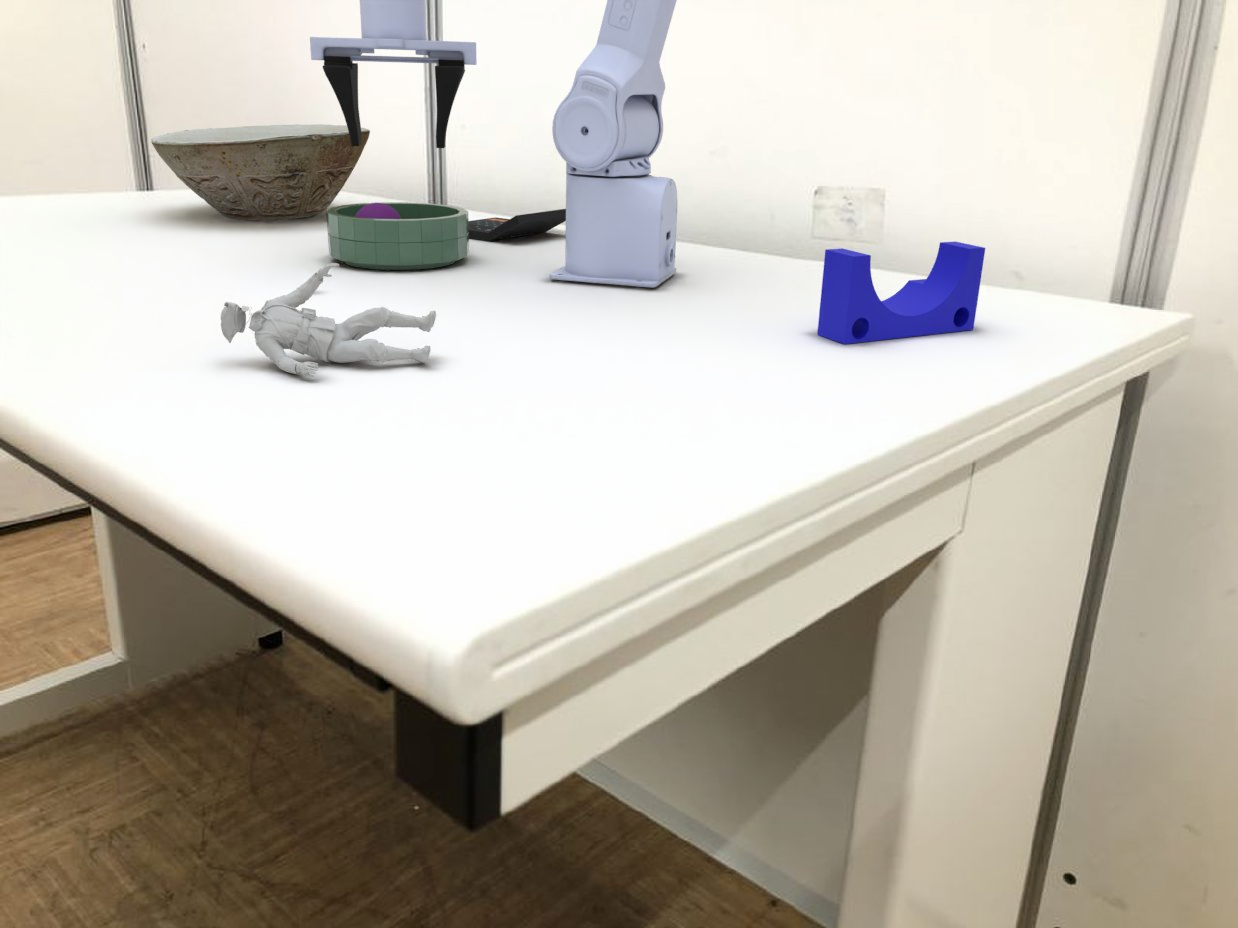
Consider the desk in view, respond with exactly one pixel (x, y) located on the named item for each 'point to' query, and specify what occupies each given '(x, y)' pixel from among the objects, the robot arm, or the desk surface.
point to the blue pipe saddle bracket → (899, 297)
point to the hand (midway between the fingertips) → (398, 146)
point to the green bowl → (399, 236)
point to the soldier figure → (320, 330)
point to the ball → (378, 212)
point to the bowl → (263, 167)
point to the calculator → (515, 225)
